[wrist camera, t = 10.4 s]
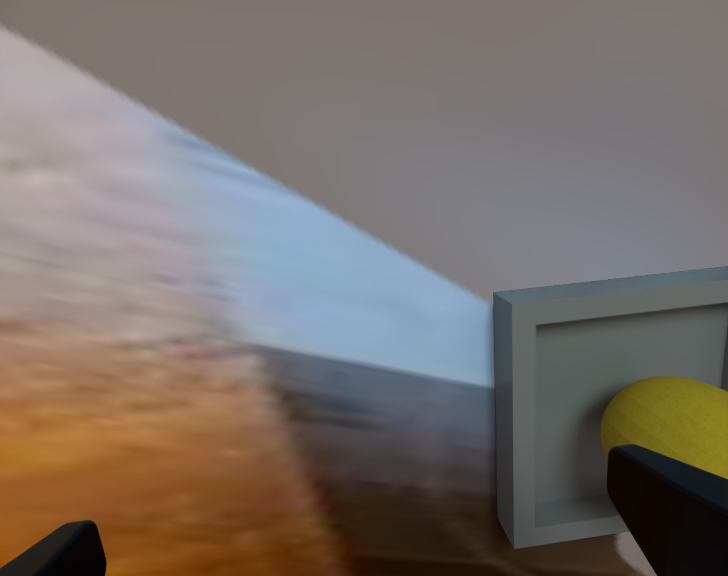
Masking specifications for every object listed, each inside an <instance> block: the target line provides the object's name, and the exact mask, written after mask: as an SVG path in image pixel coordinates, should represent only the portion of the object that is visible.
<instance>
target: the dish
mask: <svg viewBox="0 0 728 576" xmlns="http://www.w3.org/2000/svg"><path fill="white" fill-rule="evenodd" d="M493 297H494V299H493V300H494V354H495V408H496V462H497V516H498V520H499V521H500V523H501V525H502V527H503V529H504V531H505V533H506V535H507V537H508V539H509V540H510V542H511V544H512V546H513V548H514V549H518V548H524V547H531V546H537V545H544V544H550V543H557V542H563V541H570V540H576V539H583V538H589V537H596V536H602V535H608V534H615V533H621V532H628V531H629V529H628V527H627V526H626V524H625V523H624V521H623V519H622V518H621V516H620V514H619V513H618V511H617V510H616V508H615V506H614V505H613V503H612V501H611V500H610V497H609V495H608V492H607V464H608V462H607V460H606V457H605V454H604V450H603V446H602V442H601V423H602V419H603V416H604V412H605V410H606V408H607V406H608V405H609V403H610V401H611V400H612V399H613V398H614V397H615V396H616V394H617V393H618V392H620V391H621V390H622V389H624V388H625V387H626V386H628V385H630V384H632V383H635V382H637V381H639V380H642V379H646V378H651V377H657V376H673V377H685V378H690V379H694V380H697V381H701V382H704V383H707V384H710V385H713V386H715V387H718V388H721V389H723V390H725V391H727V392H728V266H725V267H716V268H707V269H699V270H689V271H680V272H671V273H662V274H653V275H645V276H635V277H627V278H617V279H608V280H600V281H591V282H582V283H573V284H564V285H555V286H546V287H538V288H528V289H519V290H510V291H502V292H494V293H493Z"/></svg>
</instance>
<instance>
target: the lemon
mask: <svg viewBox="0 0 728 576" xmlns="http://www.w3.org/2000/svg"><path fill="white" fill-rule="evenodd" d="M601 442H602V446H603V450H604V454H605V457H606V460H607V462H608V452H609V450H610V448H612V447H613V446H618V445H625V444H636V445H639V446H641V447H644V448H647V449H649V450H652V451H655V452H657V453H660V454H663V455H665V456H668V457H671V458H673V459H676V460H678V461H681V462H684V463H686V464H689V465H692V466H694V467H697V468H700V469H702V470H705V471H708V472H710V473H713V474H716V475H718V476H721V477H723V478H726V479H728V392H727V391H725V390H723V389H721V388H718V387H715V386H713V385H710V384H707V383H704V382H701V381H697V380H694V379H690V378H685V377H673V376H657V377H651V378H646V379H642V380H639V381H637V382H635V383H632V384H630V385H628V386H626V387H625V388H624V389H622V390H621V391H620V392H618V393H617V394H616V396H615V397H614V398H613V399H612V400H611V401H610V403H609V405H608V406H607V408H606V410H605V412H604V416H603V419H602V423H601Z"/></svg>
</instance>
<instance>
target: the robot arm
mask: <svg viewBox="0 0 728 576" xmlns="http://www.w3.org/2000/svg"><path fill="white" fill-rule="evenodd" d="M607 492H608V495H609V497H610V500H611V501H612V503H613V505H614V506H615V508H616V510H617V511H618V513H619V514H620V516H621V518H622V519H623V521H624V523H625V524H626V526H627V527H628V529H629V531H630V532H631V534H632V535H633V537H634V539H635V540H636V542H637V544H638V545H639V547H640V548H641V550H642V552H643V553H644V555H645V557H646V558H647V560H648V562H649V563H650V565H651V566H652V568H653V570H654V571H655V573H656V574H657V576H728V479H726V478H723V477H721V476H718V475H716V474H713V473H710V472H708V471H705V470H702V469H700V468H697V467H694V466H692V465H689V464H686V463H684V462H681V461H678V460H676V459H673V458H671V457H668V456H665V455H663V454H660V453H657V452H655V451H652V450H649V449H647V448H644V447H641V446H639V445H636V444H625V445H618V446H613V447H612V448H610V450H609V452H608V464H607ZM105 573H106V557H105V553H104V550H103V546H102V543H101V539H100V535H99V532H98V528H97V526H96V524H95V523H94V522H93V521H91V520H84V521H77V522H70V523H66V524H64V525H62V526H61V527H59V528H58V529H56V530H55V531H54V532H52V533H51V534H49V535H48V536H46V537H45V538H43V539H42V540H41V541H39V542H38V543H36V544H35V545H33V546H32V547H30V548H29V549H28V550H26V551H25V552H23V553H22V554H20V555H19V556H17V557H16V558H15V559H13V560H12V561H10V562H9V563H7V564H6V565H4V566H3V567H2V568H0V576H105Z"/></svg>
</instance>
